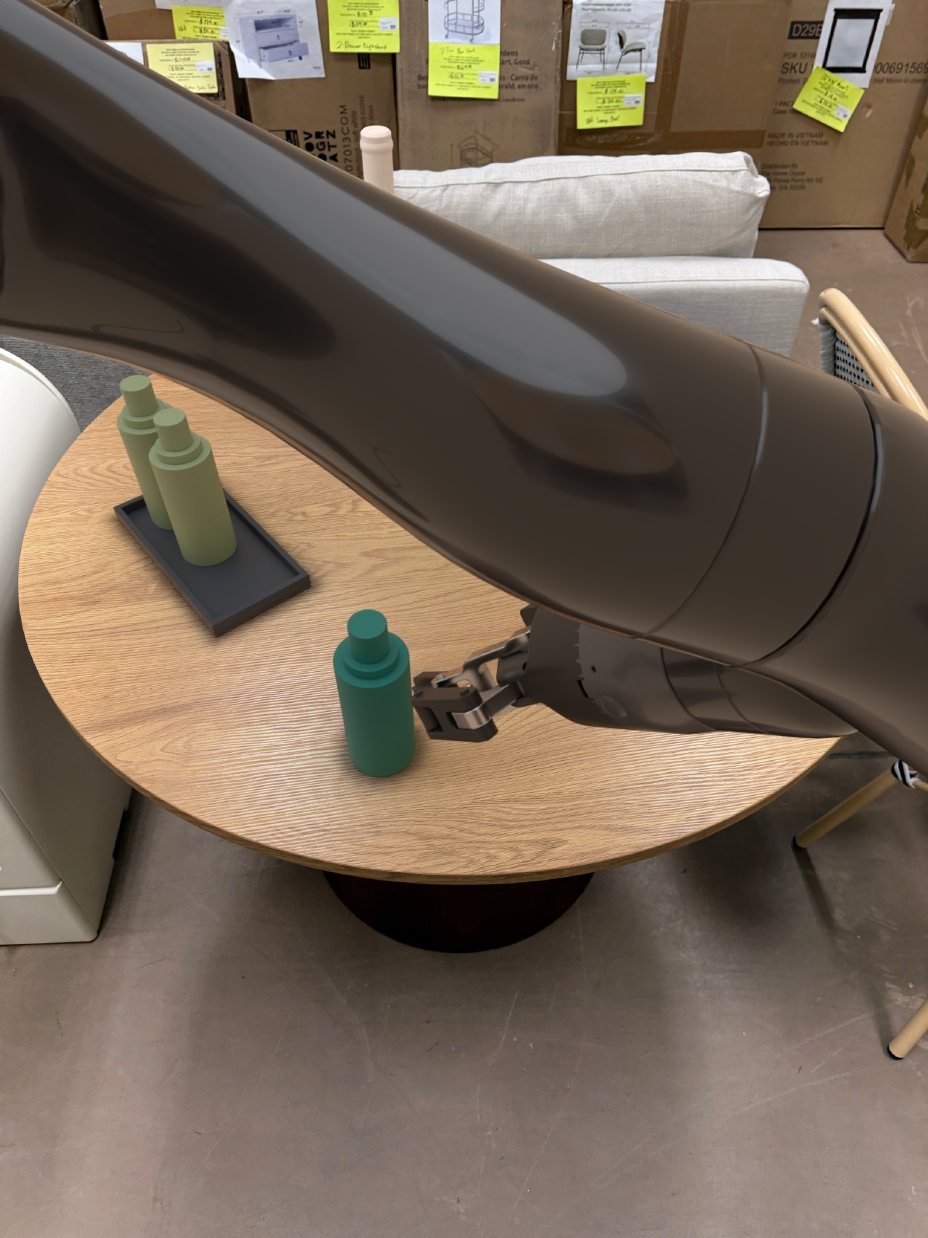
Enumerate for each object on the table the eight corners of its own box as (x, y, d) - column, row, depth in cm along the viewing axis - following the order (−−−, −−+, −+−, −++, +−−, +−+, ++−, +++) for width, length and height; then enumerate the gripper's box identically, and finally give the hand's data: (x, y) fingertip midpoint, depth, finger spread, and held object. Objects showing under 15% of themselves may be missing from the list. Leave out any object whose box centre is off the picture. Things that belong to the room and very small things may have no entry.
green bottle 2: (191, 573, 87) (146, 442, 75) (174, 540, 91) (129, 409, 78) (244, 554, 89) (209, 423, 77) (226, 522, 93) (190, 392, 80)
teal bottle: (365, 787, 71) (345, 666, 58) (338, 736, 74) (314, 611, 62) (426, 760, 73) (420, 636, 60) (398, 711, 76) (387, 584, 63)
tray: (311, 586, 87) (309, 574, 86) (215, 637, 82) (211, 626, 81) (206, 479, 99) (203, 467, 97) (117, 518, 94) (112, 507, 93)
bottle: (429, 362, 117) (423, 129, 95) (389, 383, 113) (373, 147, 91) (391, 342, 121) (377, 113, 98) (351, 362, 117) (327, 129, 94)
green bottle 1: (159, 536, 91) (111, 406, 78) (145, 506, 94) (97, 376, 82) (211, 519, 93) (173, 389, 80) (195, 490, 97) (156, 360, 84)
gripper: (720, 502, 38) (535, 550, 53) (493, 651, 32) (354, 659, 47) (781, 642, 40) (584, 651, 54) (574, 810, 33) (414, 770, 48)
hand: (478, 655), depth 50 cm, fingers open, 8 cm apart
